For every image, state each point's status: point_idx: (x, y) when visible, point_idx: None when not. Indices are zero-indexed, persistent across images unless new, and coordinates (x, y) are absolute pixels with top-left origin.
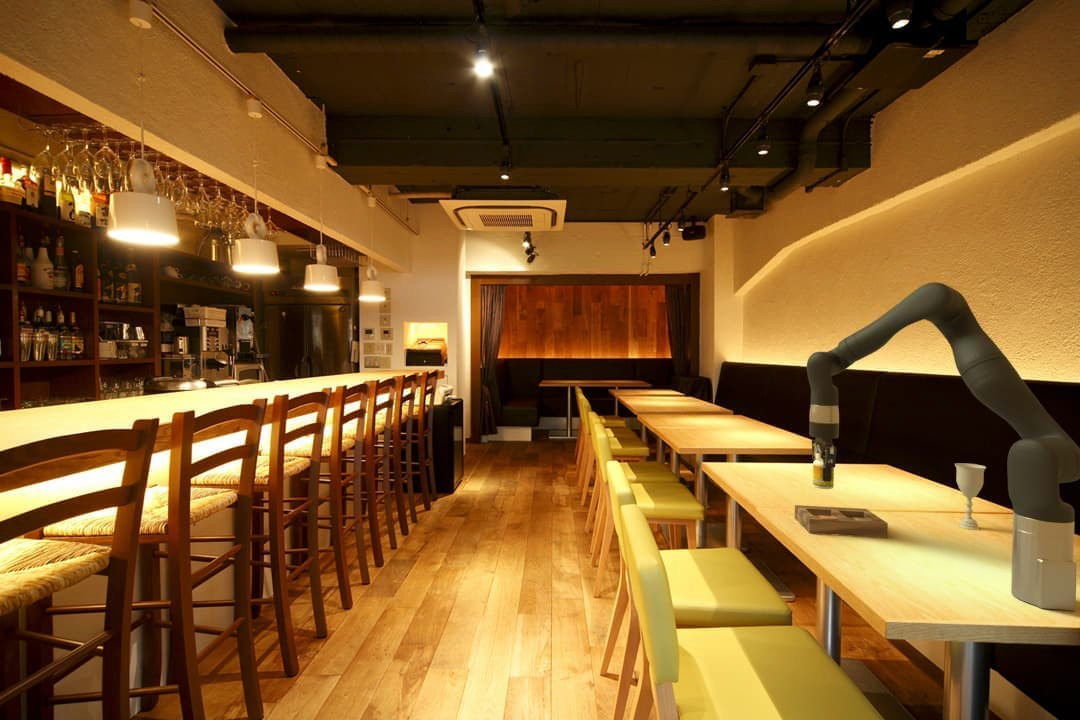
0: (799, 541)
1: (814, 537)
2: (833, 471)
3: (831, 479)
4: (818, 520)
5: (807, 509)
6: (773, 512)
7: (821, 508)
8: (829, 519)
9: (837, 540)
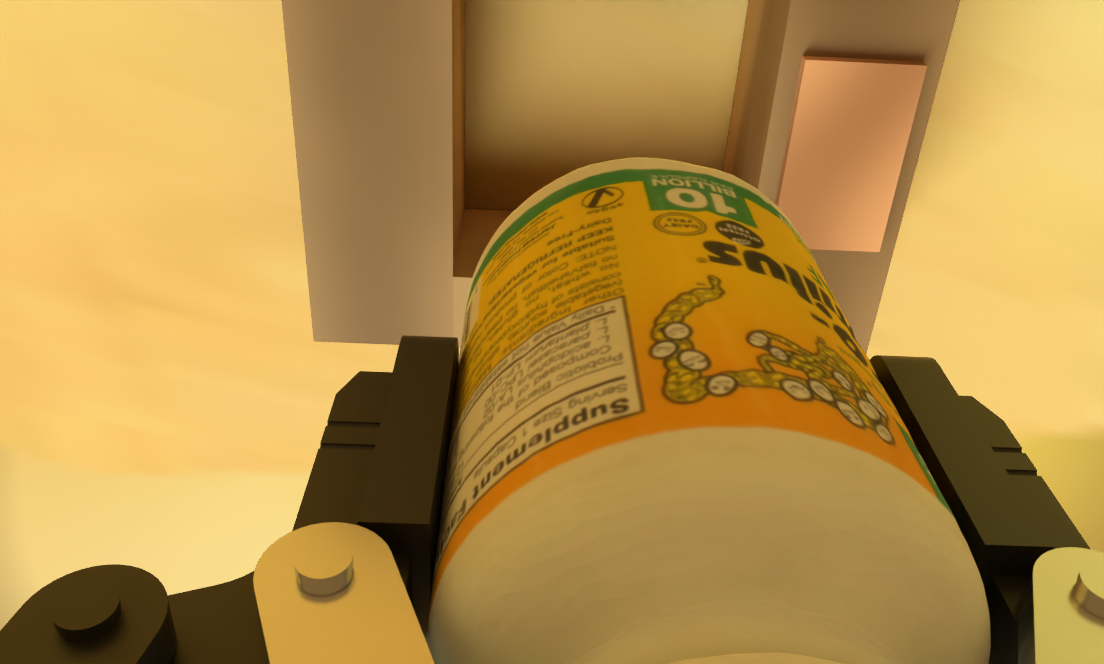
0: (1030, 425)
1: (943, 282)
2: (847, 370)
3: (848, 326)
4: (880, 276)
5: (453, 251)
6: (191, 398)
7: (398, 77)
8: (897, 167)
9: (1046, 105)
